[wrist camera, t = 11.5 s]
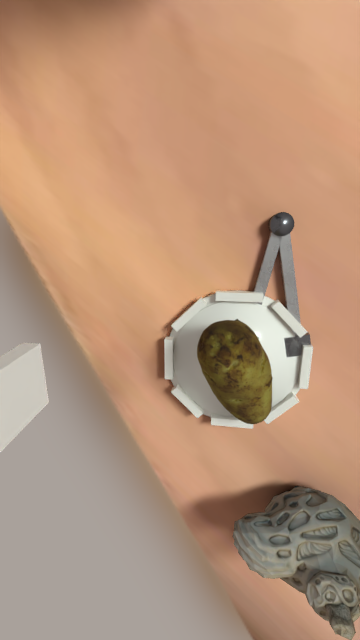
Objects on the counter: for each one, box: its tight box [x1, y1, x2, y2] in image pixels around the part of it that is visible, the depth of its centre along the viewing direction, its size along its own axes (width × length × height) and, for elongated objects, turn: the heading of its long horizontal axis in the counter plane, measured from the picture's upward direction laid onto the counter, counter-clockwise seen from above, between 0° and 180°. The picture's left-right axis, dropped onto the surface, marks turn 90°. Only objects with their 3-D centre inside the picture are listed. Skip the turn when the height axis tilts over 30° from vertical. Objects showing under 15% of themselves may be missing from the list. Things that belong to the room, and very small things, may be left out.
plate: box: [164, 290, 313, 429], centre depth 38 cm, size 17×17×2 cm
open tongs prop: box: [253, 212, 311, 357], centre depth 36 cm, size 16×9×1 cm, turn 0°
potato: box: [197, 319, 273, 424], centre depth 34 cm, size 8×13×8 cm, turn 1°
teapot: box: [233, 486, 360, 640], centre depth 36 cm, size 21×12×15 cm, turn 77°
